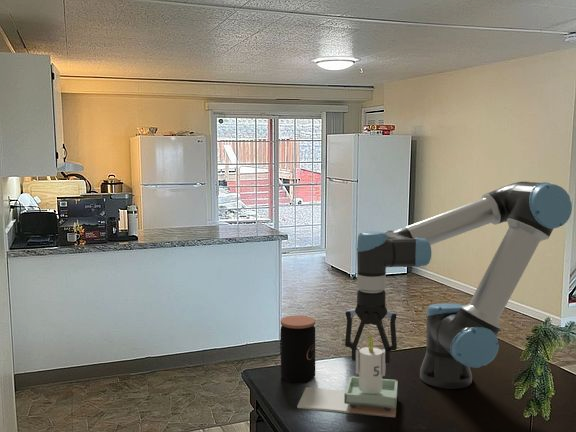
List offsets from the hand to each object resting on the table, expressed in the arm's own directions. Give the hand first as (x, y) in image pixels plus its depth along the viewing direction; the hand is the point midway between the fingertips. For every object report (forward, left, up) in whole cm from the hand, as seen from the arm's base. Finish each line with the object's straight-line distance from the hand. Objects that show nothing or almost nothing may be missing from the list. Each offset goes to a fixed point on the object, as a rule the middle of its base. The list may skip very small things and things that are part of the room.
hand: (370, 372), depth 147 cm
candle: (0, 0, -5) cm, 5 cm away
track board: (+6, 0, -9) cm, 11 cm away
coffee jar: (+23, -14, -9) cm, 28 cm away
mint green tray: (0, 0, -9) cm, 9 cm away
